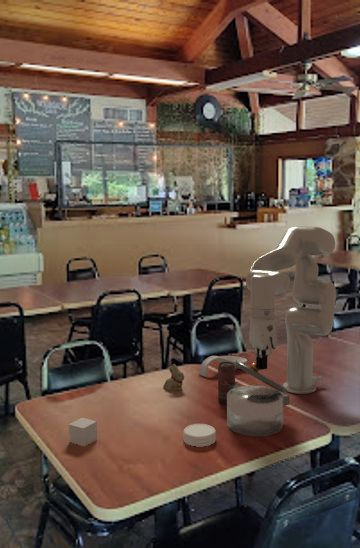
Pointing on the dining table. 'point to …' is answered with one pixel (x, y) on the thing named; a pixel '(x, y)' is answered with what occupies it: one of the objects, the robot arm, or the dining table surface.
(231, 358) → the spoon rest
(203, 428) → the white short cylinder
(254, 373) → the lid
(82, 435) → the light grey cube
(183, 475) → the dining table surface
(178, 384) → the chocolate bunny
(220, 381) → the can
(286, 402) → the round storage jar
